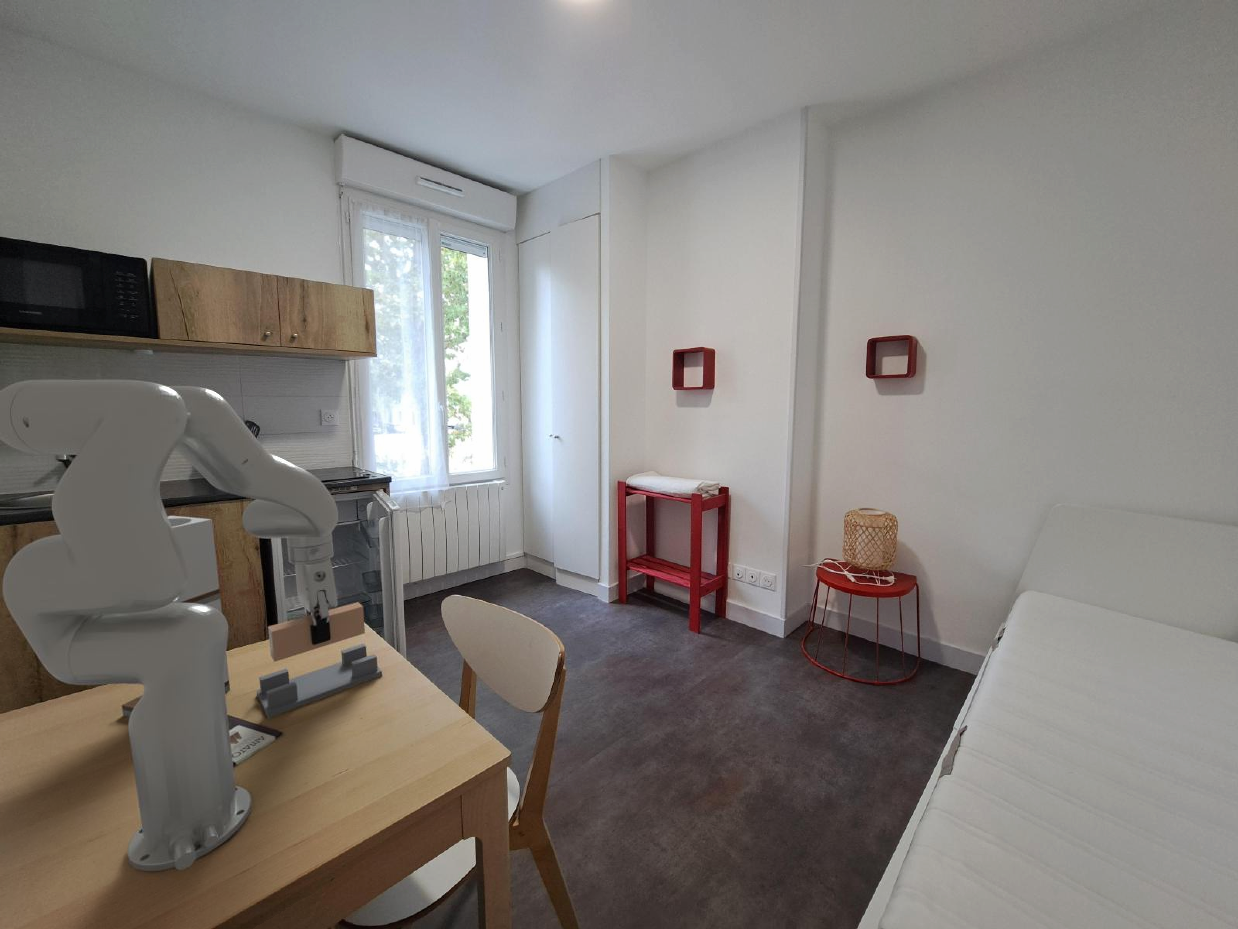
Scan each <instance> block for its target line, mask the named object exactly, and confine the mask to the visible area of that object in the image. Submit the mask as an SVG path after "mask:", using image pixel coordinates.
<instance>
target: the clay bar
mask: <svg viewBox="0 0 1238 929" xmlns="http://www.w3.org/2000/svg"><path fill="white" fill-rule="evenodd" d="M328 612H329V623H330V635H331V639H330V640H329V641H326V642H322V643H319V644H316V645H313V644H312V639H311V628H310V625H312V619H311V615H309V616H305V615H304V616H301V617H298V618H295V619H290V620H287V621H284V622H280V623H277V624H272V625H269V626H267V628H268V639H269V641H268V642H269V650H270V656H271V658H272V660H273V662H274V663H275V662H278V661H281V660H285V659H288V658H292V657H294V656H297V655H301V654H303V653H307V652H309V651H314V650H316V649H319V648H322V647H326V646H329V645H332V644H336V643H339V642H342V641H346V640H348V639H351V638H354V637H358V636H360V635H364V634H366V631H365V630H366V628H365V618H364V617H365V616H364V606H363V605H362V604H361V603H360V602H359V601H357V602H354V603H350V604H346V605H343V606H339V607H334V608H332V609H331V608H330V609H328ZM318 614H319V613H316V614H315V615H316V616H317V615H318Z"/></svg>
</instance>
